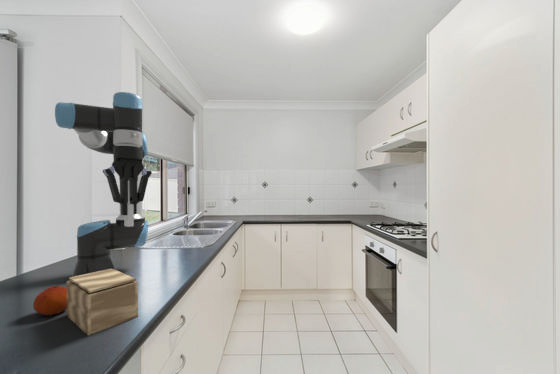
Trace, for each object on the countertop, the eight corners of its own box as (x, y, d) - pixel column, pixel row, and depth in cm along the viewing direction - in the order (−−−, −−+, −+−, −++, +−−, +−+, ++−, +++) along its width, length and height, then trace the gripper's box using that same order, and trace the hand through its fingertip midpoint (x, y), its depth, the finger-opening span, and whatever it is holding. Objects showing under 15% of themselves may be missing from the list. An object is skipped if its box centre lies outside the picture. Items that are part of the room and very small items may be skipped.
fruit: (80, 307, 82) (80, 281, 82) (49, 321, 73) (49, 292, 73) (58, 304, 84) (58, 279, 84) (26, 318, 75) (25, 290, 75)
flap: (69, 279, 77) (69, 277, 77) (111, 270, 86) (111, 268, 86) (89, 292, 66) (89, 290, 66) (135, 280, 75) (135, 278, 75)
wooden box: (66, 315, 76) (66, 281, 77) (112, 301, 86) (112, 270, 86) (88, 335, 66) (87, 295, 66) (137, 316, 75) (137, 281, 75)
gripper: (108, 142, 70) (109, 230, 70) (156, 147, 80) (157, 224, 80) (98, 145, 75) (98, 227, 75) (144, 150, 85) (145, 222, 85)
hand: (129, 226), depth 77 cm, fingers closed
